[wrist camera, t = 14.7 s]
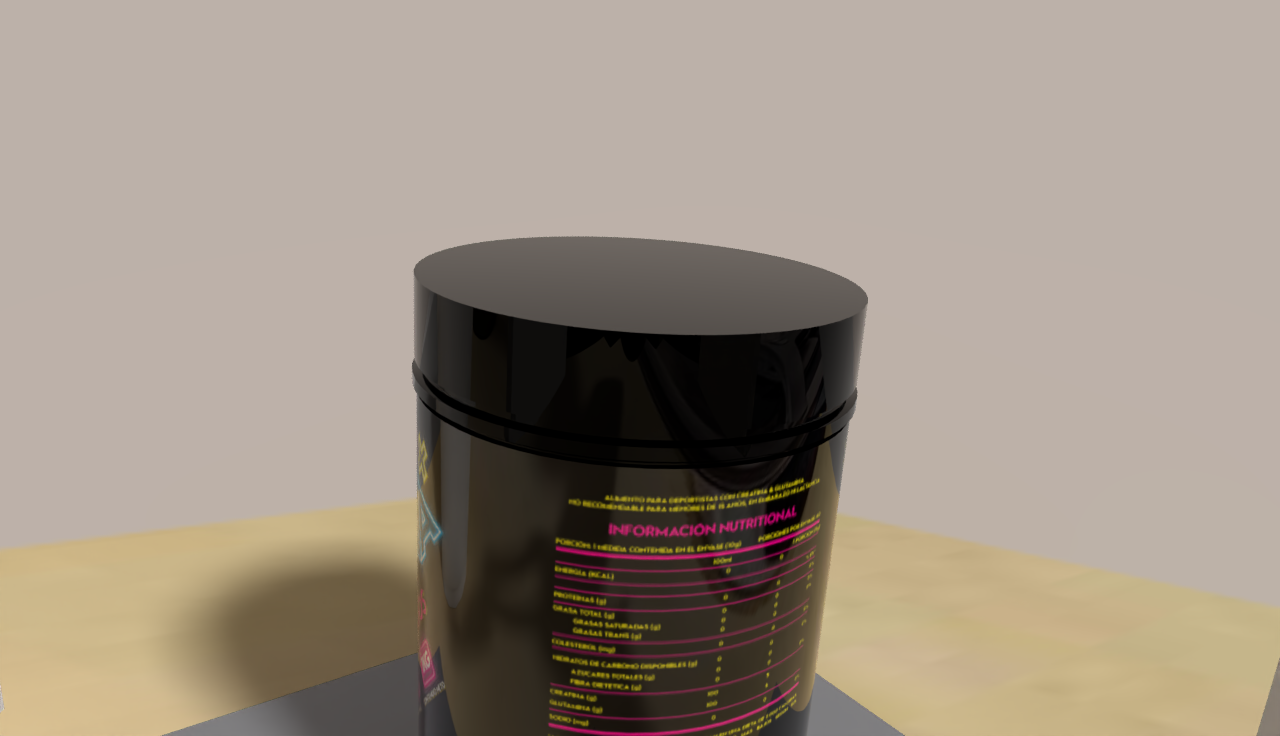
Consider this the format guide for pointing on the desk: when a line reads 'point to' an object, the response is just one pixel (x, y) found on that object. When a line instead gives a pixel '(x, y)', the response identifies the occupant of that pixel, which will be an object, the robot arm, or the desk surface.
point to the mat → (388, 709)
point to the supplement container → (626, 485)
